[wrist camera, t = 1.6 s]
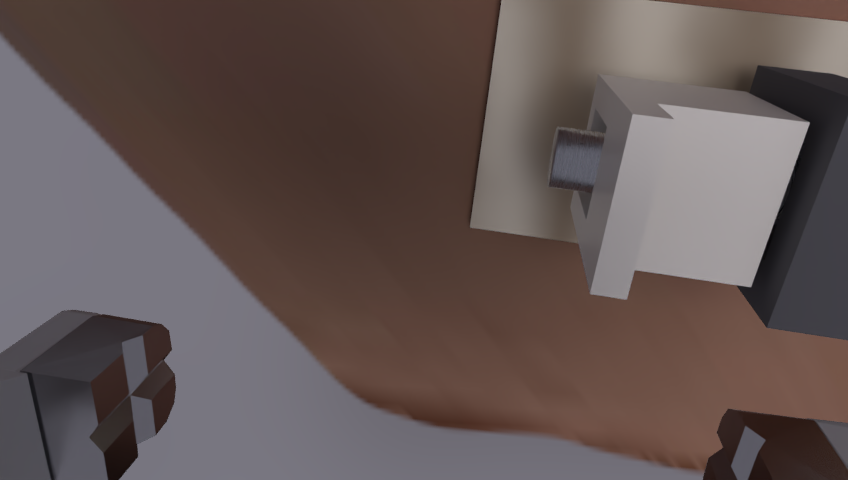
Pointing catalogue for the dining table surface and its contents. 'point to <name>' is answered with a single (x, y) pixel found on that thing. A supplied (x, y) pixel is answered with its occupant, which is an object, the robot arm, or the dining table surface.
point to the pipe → (590, 161)
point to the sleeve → (682, 182)
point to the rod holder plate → (618, 56)
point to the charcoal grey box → (808, 211)
